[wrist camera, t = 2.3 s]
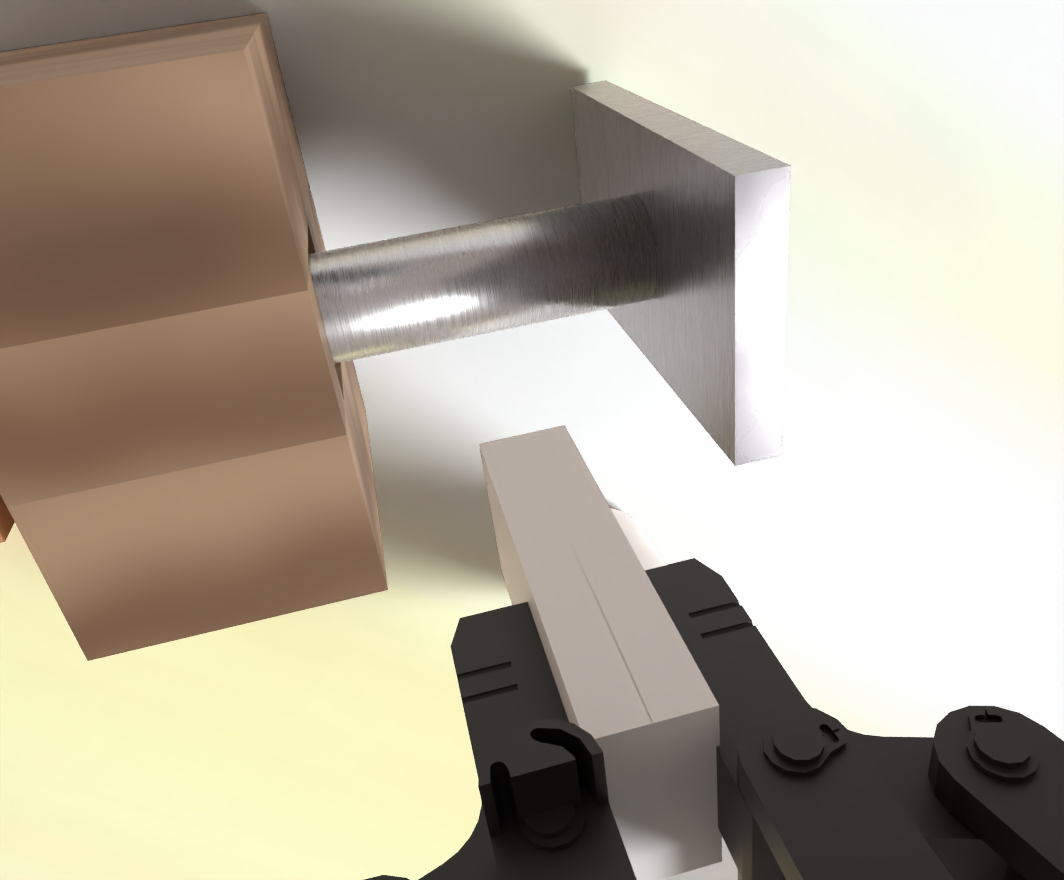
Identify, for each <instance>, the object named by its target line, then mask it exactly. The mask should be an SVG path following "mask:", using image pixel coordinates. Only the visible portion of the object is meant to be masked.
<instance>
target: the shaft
mask: <svg viewBox="0 0 1064 880" xmlns="http://www.w3.org/2000/svg"><path fill="white" fill-rule="evenodd" d="M571 95H572V106H573V117H574V128H575V139H576V150H577V161H578V172H579V183H580V194H581V204H577V205H571V206H566V207H560V208H555V209H550V210H544V211H539V212H533V213H528V214H523V215H517V216H512V217H506V218H501V219H496V220H490V221H485V222H479V223H474V224H469V225H463V226H458V227H452V228H447V229H442V230H436V231H431V232H425V233H420V234H415V235H409V236H404V237H398V238H393V239H388V240H382V241H377V242H371V243H366V244H360V245H355V246H350V247H344V248H339V249H333V250H328V251H323V252H317V253H312V254H308V266H309V270H310V273H311V277H312V281H313V285H314V289H315V292H316V296H317V300H318V304H319V308H320V312H321V315H322V319H323V323H324V327H325V331H326V334H327V338H328V342H329V346H330V350H331V354H332V357H333V361H334V364H336V363H340V362H345V361H350V360H355V359H360V358H365V357H370V356H375V355H380V354H385V353H390V352H395V351H400V350H405V349H410V348H415V347H420V346H425V345H430V344H435V343H440V342H445V341H449V340H454V339H459V338H464V337H469V336H474V335H479V334H484V333H489V332H494V331H499V330H504V329H509V328H514V327H519V326H524V325H529V324H534V323H539V322H544V321H549V320H554V319H559V318H563V317H568V316H573V315H578V314H583V313H588V312H593V311H598V310H603V309H607V310H608V311H609V312H610V314H611V315H612V316H613V317H614V318H615V320H616V321H617V322H618V323H619V324H620V326H621V327H622V328H623V329H624V331H625V332H626V333H627V334H628V335H629V337H630V338H631V339H632V340H633V342H634V343H635V344H636V345H637V346H638V348H639V349H640V350H641V351H642V353H643V354H644V355H645V356H646V357H647V359H648V360H649V361H650V362H651V364H652V365H653V366H654V367H655V368H656V370H657V371H658V372H659V373H660V375H661V376H662V377H663V378H664V379H665V381H666V382H667V383H668V384H669V386H670V387H671V388H672V389H673V390H674V392H675V393H676V394H677V395H678V397H679V398H680V399H681V400H682V401H683V403H684V404H685V405H686V406H687V408H688V409H689V410H690V411H691V412H692V414H693V415H694V416H695V417H696V419H697V420H698V421H699V422H700V423H701V425H702V426H703V427H704V428H705V430H706V431H707V432H708V433H709V434H710V436H711V437H712V438H713V439H714V441H715V442H716V443H717V444H718V445H719V447H720V448H721V449H722V450H723V452H724V453H725V454H726V455H727V456H728V458H729V459H730V460H731V461H732V463H733V464H734V465H735V466H736V465H740V464H745V463H749V462H753V461H758V460H762V459H767V458H771V457H775V456H780V455H781V446H782V414H783V383H784V352H785V320H786V289H787V258H788V227H789V195H790V165H788V164H786V163H784V162H781V161H779V160H777V159H775V158H773V157H771V156H768V155H766V154H764V153H762V152H760V151H758V150H755V149H753V148H751V147H749V146H747V145H744V144H742V143H740V142H738V141H736V140H734V139H731V138H729V137H727V136H725V135H723V134H721V133H718V132H716V131H714V130H712V129H710V128H708V127H705V126H703V125H701V124H699V123H697V122H695V121H692V120H690V119H688V118H686V117H684V116H682V115H679V114H677V113H675V112H673V111H671V110H669V109H666V108H664V107H662V106H660V105H658V104H656V103H653V102H651V101H649V100H647V99H645V98H642V97H640V96H638V95H636V94H634V93H632V92H629V91H627V90H625V89H623V88H621V87H619V86H616V85H614V84H612V83H610V82H608V81H600V82H594V83H588V84H582V85H576V86H571Z"/></svg>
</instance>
